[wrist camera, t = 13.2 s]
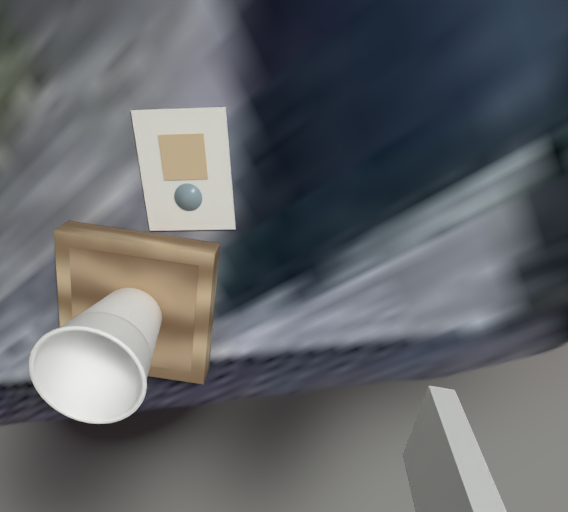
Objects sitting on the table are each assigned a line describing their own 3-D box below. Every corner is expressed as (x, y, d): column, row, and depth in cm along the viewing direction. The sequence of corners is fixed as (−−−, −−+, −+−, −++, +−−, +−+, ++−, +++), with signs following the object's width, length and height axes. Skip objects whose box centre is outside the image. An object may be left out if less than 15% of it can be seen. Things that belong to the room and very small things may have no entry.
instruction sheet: (131, 110, 43) (130, 110, 43) (225, 106, 43) (225, 107, 43) (150, 230, 48) (149, 231, 48) (235, 228, 47) (235, 229, 47)
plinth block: (68, 220, 48) (53, 230, 45) (220, 243, 48) (214, 254, 45) (74, 348, 54) (61, 364, 52) (208, 367, 54) (203, 385, 52)
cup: (120, 363, 51) (73, 438, 41) (68, 290, 48) (3, 352, 38) (197, 333, 49) (168, 403, 39) (148, 254, 46) (102, 309, 36)
